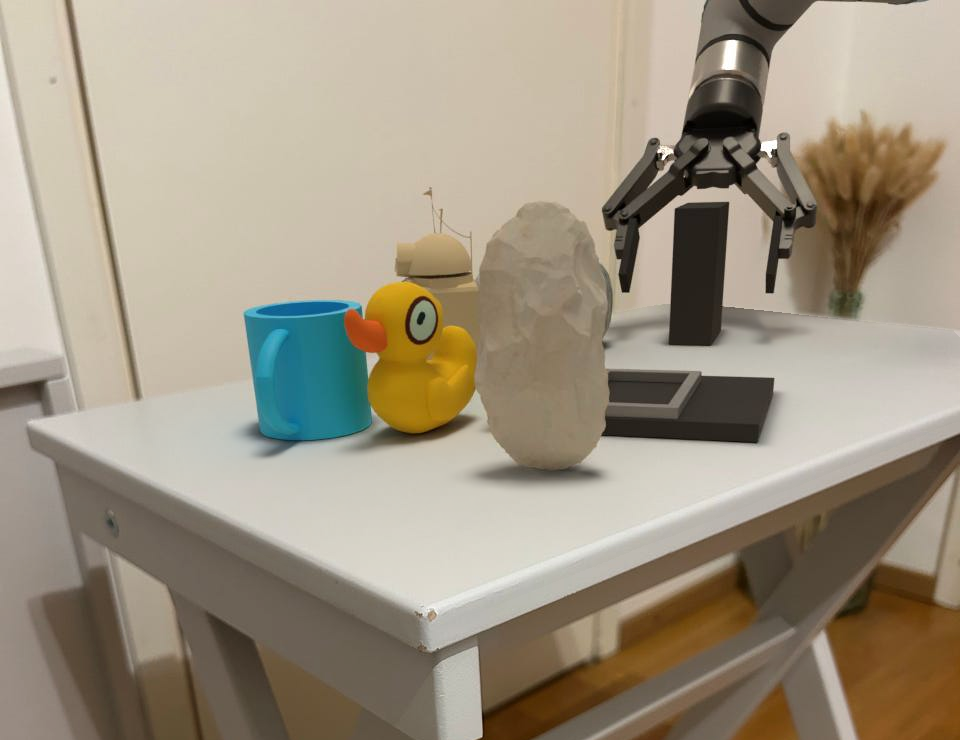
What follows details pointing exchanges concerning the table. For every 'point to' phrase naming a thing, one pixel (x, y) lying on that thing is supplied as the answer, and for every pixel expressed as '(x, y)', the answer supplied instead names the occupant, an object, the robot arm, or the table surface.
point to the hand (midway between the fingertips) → (695, 284)
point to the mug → (307, 370)
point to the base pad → (686, 405)
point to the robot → (443, 276)
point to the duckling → (413, 358)
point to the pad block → (698, 272)
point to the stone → (543, 338)
